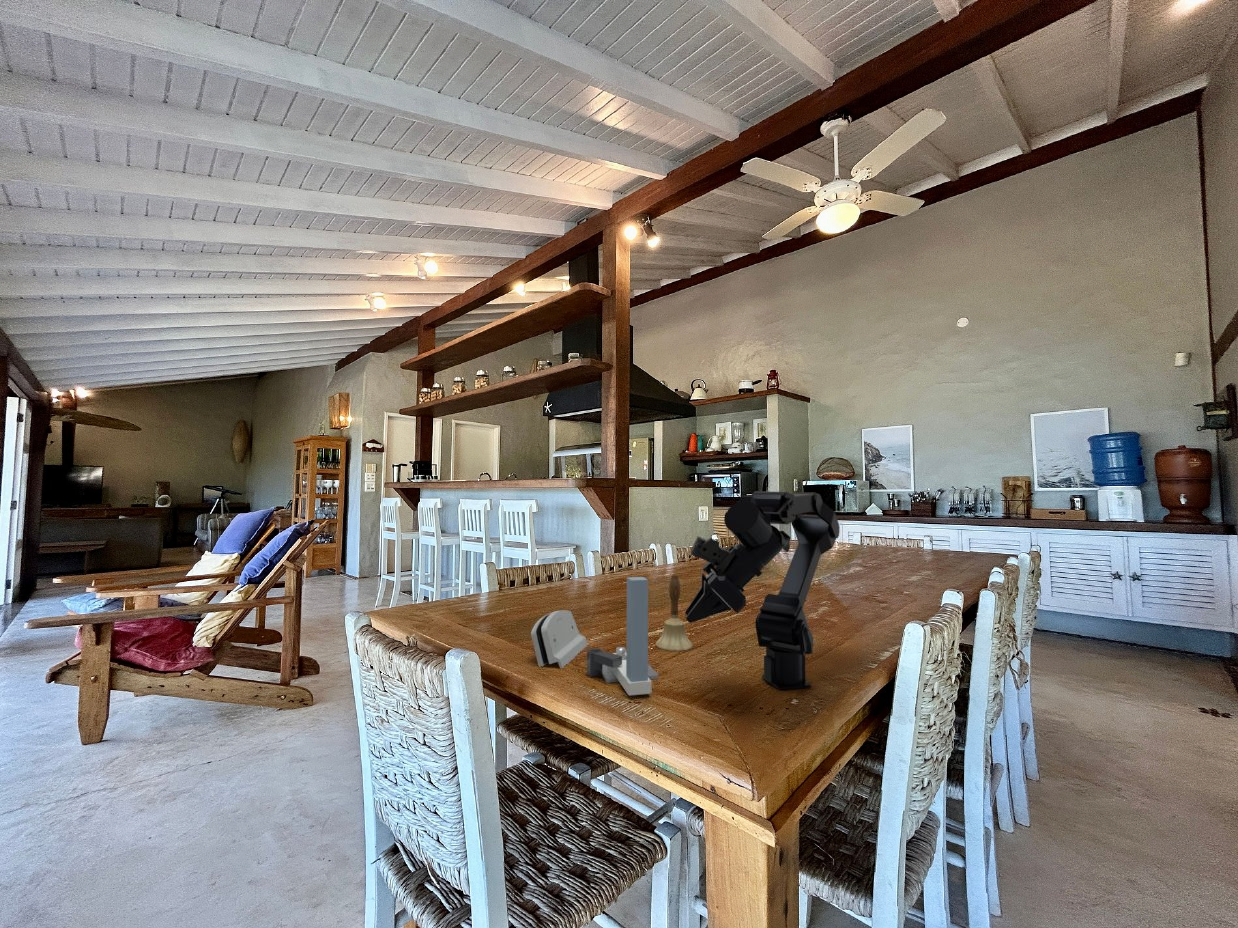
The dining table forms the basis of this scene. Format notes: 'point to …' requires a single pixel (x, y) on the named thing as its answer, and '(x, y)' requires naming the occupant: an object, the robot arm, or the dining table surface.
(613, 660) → the pintle block
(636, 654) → the link
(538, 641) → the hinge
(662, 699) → the dining table surface
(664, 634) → the hand bell
